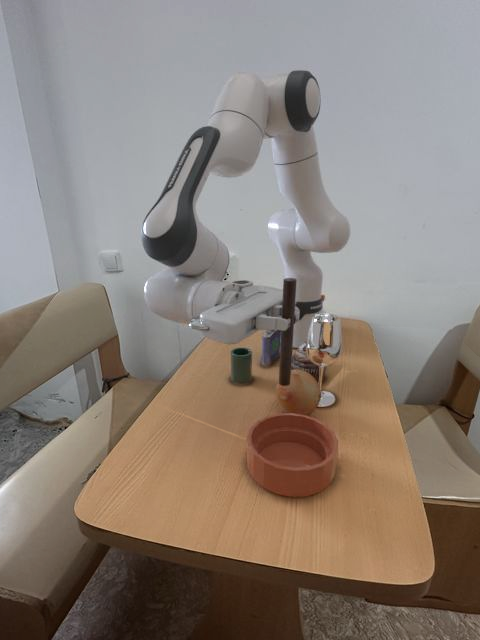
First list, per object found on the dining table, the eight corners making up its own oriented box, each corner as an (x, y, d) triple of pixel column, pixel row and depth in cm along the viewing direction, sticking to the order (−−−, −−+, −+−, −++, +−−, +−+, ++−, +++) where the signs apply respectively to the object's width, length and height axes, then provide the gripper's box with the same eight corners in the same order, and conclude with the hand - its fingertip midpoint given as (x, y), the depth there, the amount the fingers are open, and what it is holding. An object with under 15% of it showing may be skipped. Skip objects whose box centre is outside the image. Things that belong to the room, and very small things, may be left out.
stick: (281, 379, 65) (287, 277, 58) (292, 382, 64) (298, 278, 57) (276, 384, 64) (281, 279, 56) (287, 387, 63) (293, 281, 55)
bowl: (272, 429, 76) (273, 404, 74) (346, 456, 69) (350, 429, 66) (230, 476, 64) (230, 448, 62) (315, 514, 57) (318, 484, 54)
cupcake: (300, 366, 102) (303, 332, 98) (333, 376, 97) (337, 340, 93) (282, 379, 95) (283, 343, 91) (316, 391, 90) (319, 353, 86)
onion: (317, 429, 76) (321, 386, 72) (269, 421, 79) (271, 380, 74) (321, 404, 85) (325, 364, 80) (278, 397, 87) (279, 359, 83)
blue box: (268, 368, 101) (269, 331, 97) (258, 365, 102) (258, 329, 98) (281, 355, 108) (283, 320, 104) (272, 353, 110) (273, 319, 105)
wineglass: (314, 386, 92) (321, 309, 84) (342, 398, 87) (352, 317, 78) (294, 398, 87) (300, 317, 79) (323, 411, 82) (331, 326, 74)
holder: (238, 373, 98) (237, 345, 95) (255, 378, 96) (255, 350, 92) (227, 381, 94) (226, 353, 91) (244, 387, 92) (244, 358, 88)
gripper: (181, 305, 56) (261, 321, 49) (250, 278, 72) (318, 287, 65) (183, 343, 59) (260, 364, 52) (250, 309, 74) (315, 321, 68)
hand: (293, 321), depth 59 cm, fingers closed on stick, 2 cm apart
